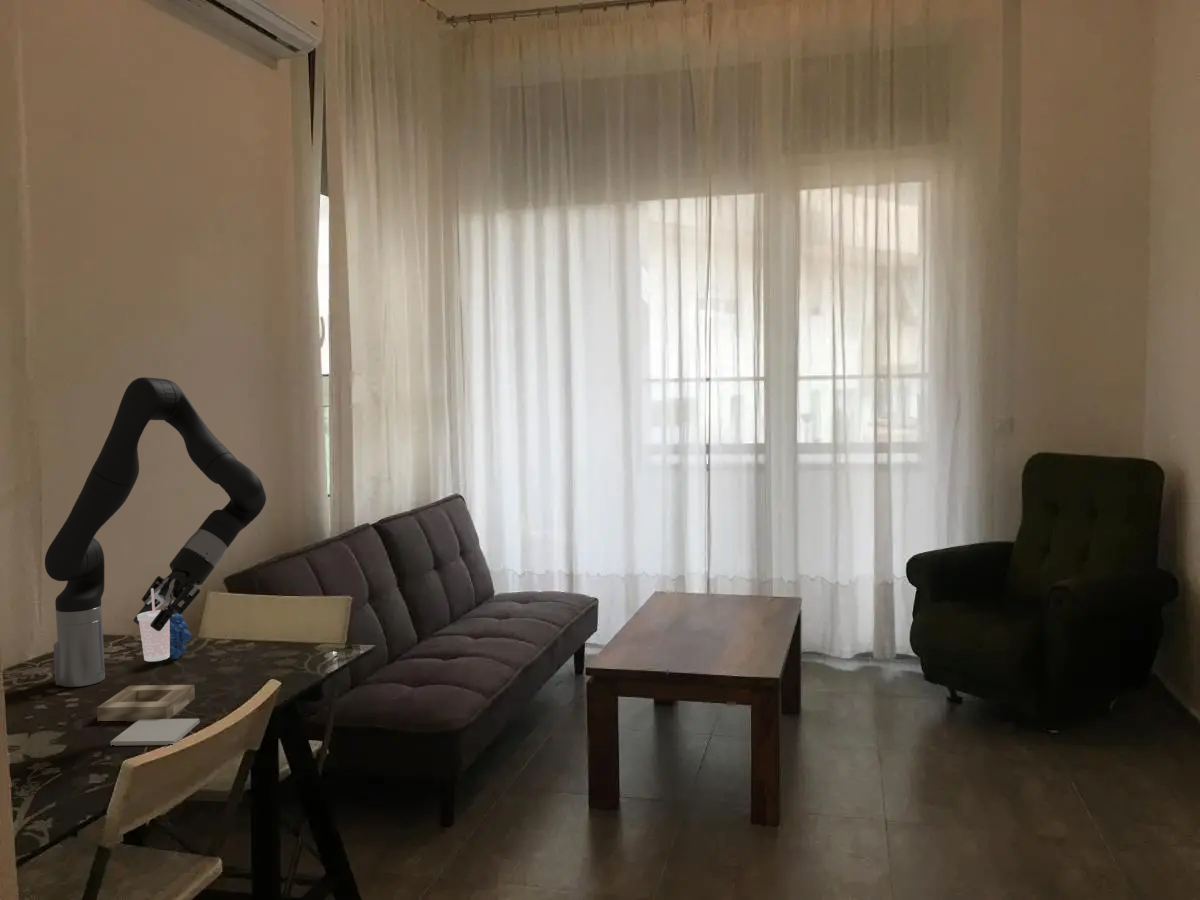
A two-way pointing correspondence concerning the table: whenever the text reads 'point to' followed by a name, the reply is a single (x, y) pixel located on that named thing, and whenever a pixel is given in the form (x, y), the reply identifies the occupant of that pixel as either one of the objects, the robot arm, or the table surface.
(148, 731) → the coaster
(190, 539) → the robot arm
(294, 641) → the table surface
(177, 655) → the grapes
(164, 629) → the beverage cup
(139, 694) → the cup holder
